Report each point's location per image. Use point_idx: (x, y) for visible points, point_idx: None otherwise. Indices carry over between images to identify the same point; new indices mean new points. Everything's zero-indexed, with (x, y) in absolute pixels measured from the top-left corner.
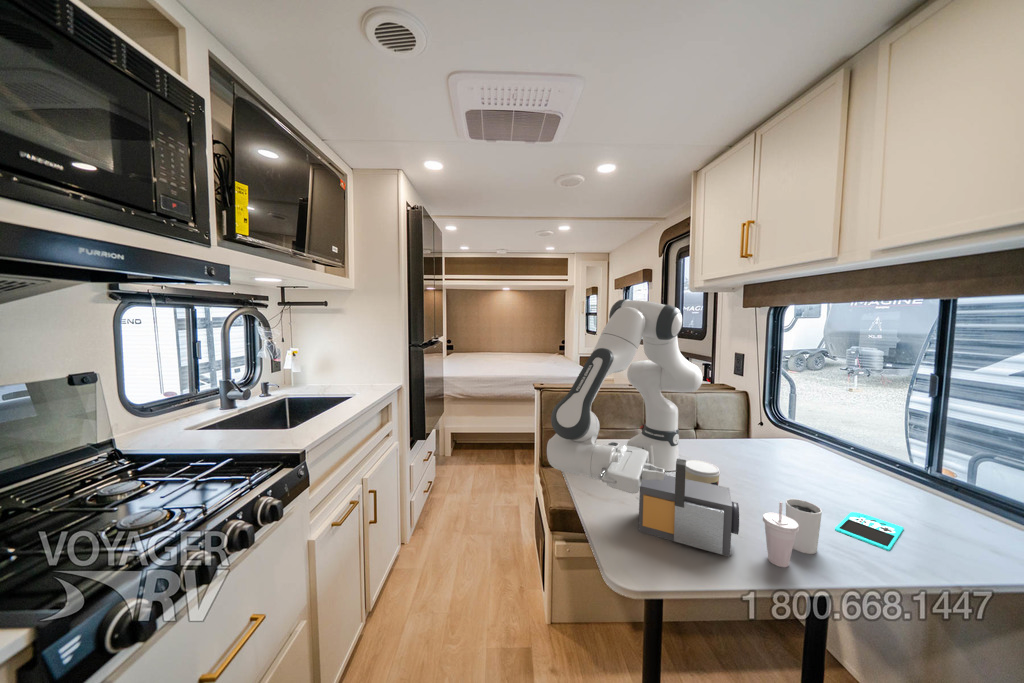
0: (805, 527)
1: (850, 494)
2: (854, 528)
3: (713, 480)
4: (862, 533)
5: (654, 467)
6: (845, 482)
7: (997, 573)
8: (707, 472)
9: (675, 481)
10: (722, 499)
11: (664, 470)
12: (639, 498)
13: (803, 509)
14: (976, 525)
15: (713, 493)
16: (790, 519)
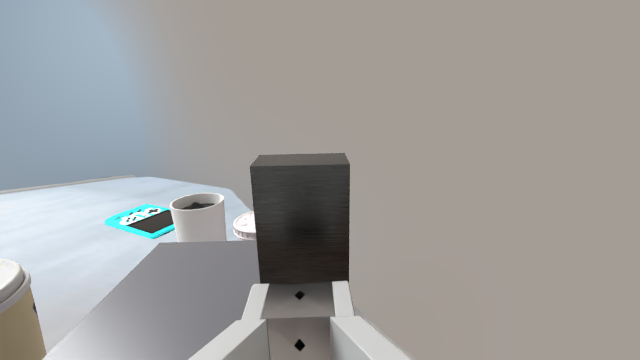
0: (224, 226)
1: (46, 217)
2: (151, 225)
3: (31, 294)
4: (164, 223)
5: (251, 338)
6: (3, 215)
7: (218, 190)
8: (11, 280)
9: (348, 265)
10: (247, 251)
11: (271, 285)
12: None
13: (195, 208)
14: (138, 183)
15: (210, 265)
16: (251, 213)
